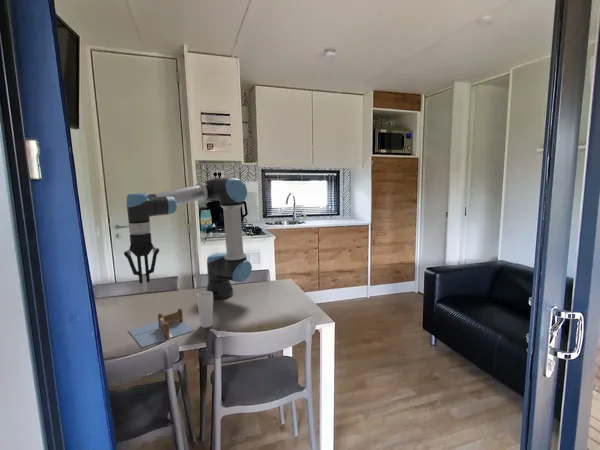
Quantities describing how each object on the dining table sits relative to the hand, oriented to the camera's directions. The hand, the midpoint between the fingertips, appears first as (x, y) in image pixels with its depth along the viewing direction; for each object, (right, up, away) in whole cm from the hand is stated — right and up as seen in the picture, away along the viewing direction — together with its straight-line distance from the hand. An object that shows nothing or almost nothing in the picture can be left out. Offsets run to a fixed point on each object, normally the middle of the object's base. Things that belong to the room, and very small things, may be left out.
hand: (145, 290), depth 134 cm
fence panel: (+5, -19, +7) cm, 21 cm away
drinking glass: (+21, -19, +14) cm, 31 cm away
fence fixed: (+5, -18, +15) cm, 24 cm away
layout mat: (+2, -19, +9) cm, 22 cm away
